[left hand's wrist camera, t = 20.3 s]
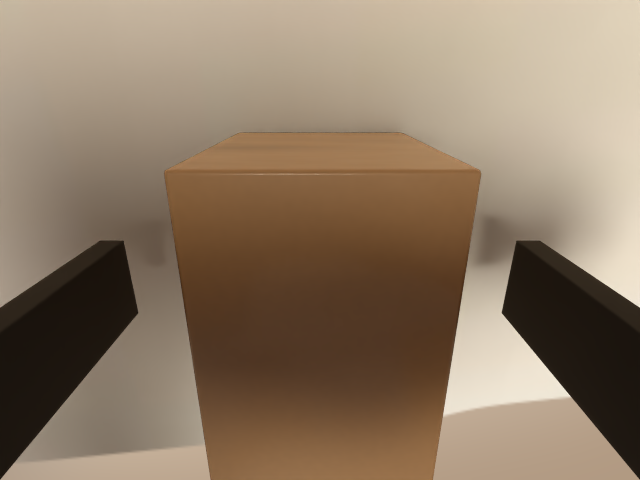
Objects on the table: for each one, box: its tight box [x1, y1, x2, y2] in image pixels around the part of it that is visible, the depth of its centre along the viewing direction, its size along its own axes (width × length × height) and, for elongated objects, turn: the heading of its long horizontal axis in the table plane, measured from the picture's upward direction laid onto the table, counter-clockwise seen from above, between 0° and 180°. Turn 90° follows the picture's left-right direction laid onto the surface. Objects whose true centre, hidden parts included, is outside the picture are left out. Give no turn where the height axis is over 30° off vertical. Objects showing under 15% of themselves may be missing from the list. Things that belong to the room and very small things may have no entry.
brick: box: [164, 133, 481, 480], centre depth 12 cm, size 9×6×7 cm
